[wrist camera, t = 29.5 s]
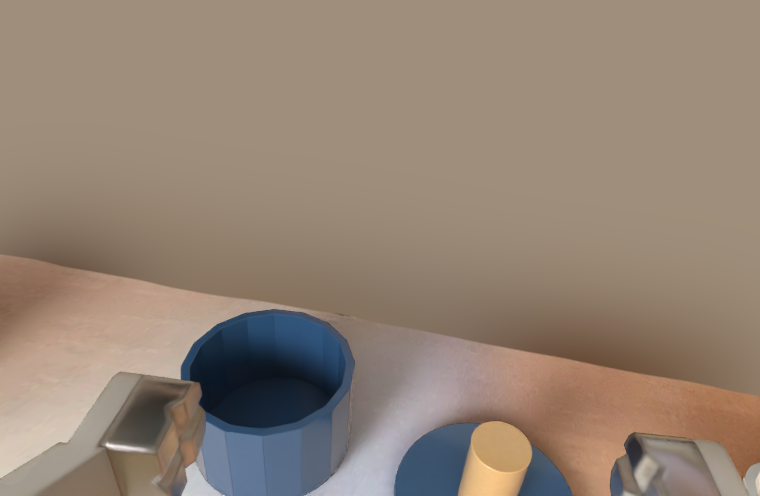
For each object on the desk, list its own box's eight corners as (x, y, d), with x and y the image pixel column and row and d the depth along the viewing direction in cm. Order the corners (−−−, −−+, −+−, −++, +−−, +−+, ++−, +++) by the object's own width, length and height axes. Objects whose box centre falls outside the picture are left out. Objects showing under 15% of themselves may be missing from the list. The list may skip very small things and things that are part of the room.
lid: (432, 635, 35) (448, 575, 31) (371, 451, 47) (377, 388, 42) (614, 574, 39) (651, 514, 35) (517, 418, 51) (536, 358, 46)
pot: (195, 523, 40) (180, 453, 36) (192, 389, 51) (180, 321, 46) (367, 482, 44) (373, 414, 40) (331, 365, 55) (332, 300, 50)
